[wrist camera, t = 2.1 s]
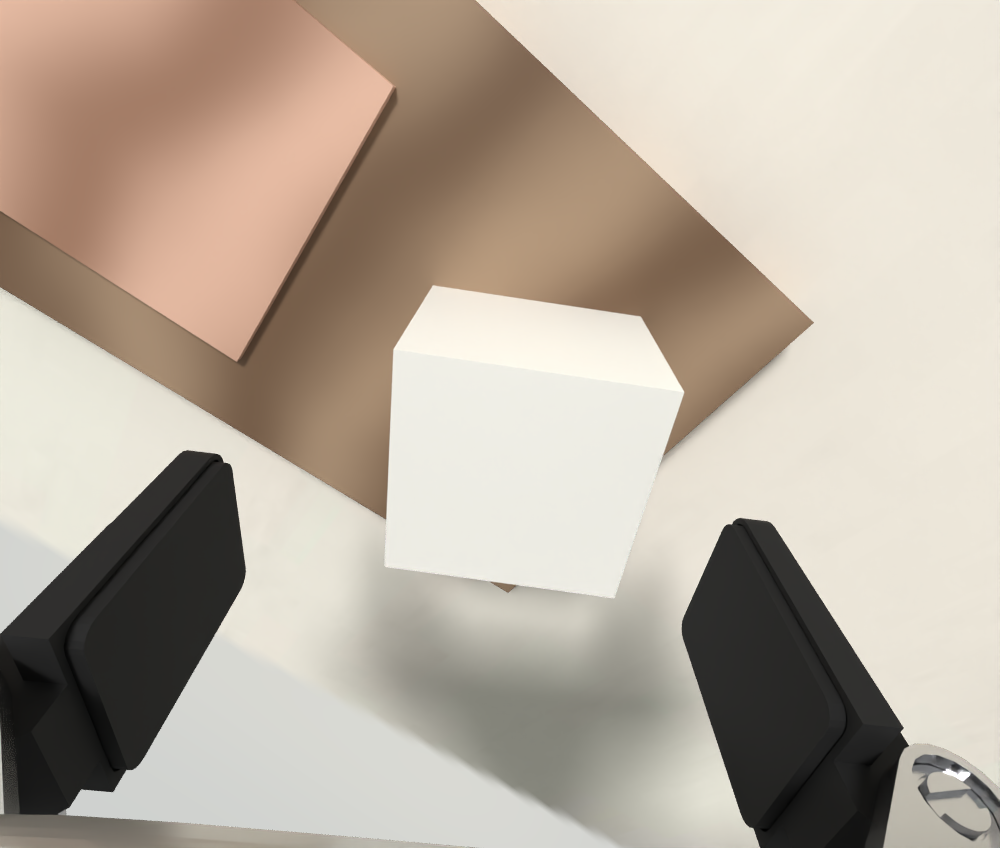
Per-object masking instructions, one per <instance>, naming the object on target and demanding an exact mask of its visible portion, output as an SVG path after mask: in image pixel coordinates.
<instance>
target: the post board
mask: <svg viewBox="0 0 1000 848" xmlns="http://www.w3.org/2000/svg"><path fill="white" fill-rule="evenodd" d="M433 285H434V286H440V287H447V288H454V289H460V290H467V291H474V292H480V293H487V294H494V295H500V296H507V297H514V298H520V299H527V300H534V301H540V302H547V303H554V304H560V305H567V306H574V307H580V308H587V309H594V310H600V311H607V312H614V313H620V314H627V315H634V316H640V317H641V318H642V319H643V321H644V323H645V325H646V326H647V328H648V330H649V332H650V333H651V335H652V337H653V339H654V340H655V342H656V344H657V345H658V347H659V349H660V351H661V352H662V354H663V356H664V358H665V359H666V361H667V363H668V365H669V366H670V368H671V370H672V372H673V373H674V375H675V377H676V378H677V380H678V382H679V384H680V385H681V387H682V389H683V391H684V395H683V398H682V401H681V404H680V407H679V410H678V413H677V416H676V418H675V421H674V424H673V427H672V430H671V433H670V436H669V439H668V442H667V445H666V448H665V451H664V454H663V456H664V455H665V454H666V453H667V452H668V451H669V450H670V449H671V448H673V447H674V446H675V445H676V444H677V443H678V442H679V441H680V440H682V439H683V438H684V437H685V436H686V435H687V434H688V433H690V432H691V431H692V430H693V429H694V428H695V427H696V426H697V425H699V424H700V423H701V422H702V421H703V420H704V419H705V418H707V417H708V416H709V415H710V414H711V413H712V412H713V411H714V410H716V409H717V408H718V407H719V406H720V405H721V404H722V403H724V402H725V401H726V400H727V399H728V398H729V397H730V396H731V395H733V394H734V393H735V392H736V391H737V390H738V389H739V388H740V387H742V386H743V385H744V384H745V383H746V382H747V381H748V380H750V379H751V378H752V377H753V376H754V375H755V374H756V373H757V372H759V371H760V370H761V369H762V368H763V367H764V366H765V365H767V364H768V363H769V362H770V361H771V360H772V359H773V358H774V357H776V356H777V355H778V354H779V353H780V352H781V351H782V350H784V349H785V348H786V347H787V346H788V345H789V344H790V343H791V342H793V341H794V340H795V339H796V338H797V337H798V336H799V335H800V334H802V333H803V332H804V331H805V330H806V329H807V328H808V327H810V326H811V325H812V324H813V323H814V322H813V321H812V320H810V319H809V318H808V317H807V316H806V315H805V314H804V313H803V312H802V311H801V310H800V309H799V308H798V307H797V306H796V305H795V304H794V303H793V302H792V301H791V300H789V299H788V298H787V297H786V296H785V295H784V294H783V293H782V292H781V291H780V290H779V289H778V288H777V287H776V286H775V285H774V284H773V283H772V282H771V281H770V280H768V279H767V278H766V277H765V276H764V275H763V274H762V273H761V272H760V271H759V270H758V269H757V268H756V267H755V266H754V265H753V264H752V263H751V262H750V261H749V260H747V259H746V258H745V257H744V256H743V255H742V254H741V253H740V252H739V251H738V250H737V249H736V248H735V247H734V246H733V245H732V244H731V243H730V242H729V241H728V240H726V239H725V238H724V237H723V236H722V235H721V234H720V233H719V232H718V231H717V230H716V229H715V228H714V227H713V226H712V225H711V224H710V223H709V222H708V221H707V220H705V219H704V218H703V217H702V216H701V215H700V214H699V213H698V212H697V211H696V210H695V209H694V208H693V207H692V206H691V205H690V204H689V203H688V202H687V201H686V200H684V199H683V198H682V197H681V196H680V195H679V194H678V193H677V192H676V191H675V190H674V189H673V188H672V187H671V186H670V185H669V184H668V183H667V182H666V181H665V180H663V179H662V178H661V177H660V176H659V175H658V174H657V173H656V172H655V171H654V170H653V169H652V168H651V167H650V166H649V165H648V164H647V163H646V162H645V161H644V160H642V159H641V158H640V157H639V156H638V155H637V154H636V153H635V152H634V151H633V150H632V149H631V148H630V147H629V146H628V145H627V144H626V143H625V142H624V141H623V140H621V139H620V138H619V137H618V136H617V135H616V134H615V133H614V132H613V131H612V130H611V129H610V128H609V127H608V126H607V125H606V124H605V123H604V122H603V121H602V120H600V119H599V118H598V117H597V116H596V115H595V114H594V113H593V112H592V111H591V110H590V109H589V108H588V107H587V106H586V105H585V104H584V103H583V102H582V101H581V100H579V99H578V98H577V97H576V96H575V95H574V94H573V93H572V92H571V91H570V90H569V89H568V88H567V87H566V86H565V85H564V84H563V83H562V82H561V81H560V80H558V79H557V78H556V77H555V76H554V75H553V74H552V73H551V72H550V71H549V70H548V69H547V68H546V67H545V66H544V65H543V64H542V63H541V62H540V61H539V60H537V59H536V58H535V57H534V56H533V55H532V54H531V53H530V52H529V51H528V50H527V49H526V48H525V47H524V46H523V45H522V44H521V43H520V42H519V41H518V40H516V39H515V38H514V37H513V36H512V35H511V34H510V33H509V32H508V31H507V30H506V29H505V28H504V27H503V26H502V25H501V24H500V23H499V22H498V21H497V20H495V19H494V18H493V17H492V16H491V15H490V14H489V13H488V12H487V11H486V10H485V9H484V8H483V7H482V6H481V5H480V4H479V3H478V2H477V1H476V0H0V287H1V288H3V289H4V290H6V291H8V292H9V293H11V294H13V295H14V296H16V297H18V298H19V299H21V300H23V301H24V302H26V303H28V304H29V305H31V306H33V307H34V308H36V309H38V310H39V311H41V312H43V313H44V314H46V315H48V316H49V317H51V318H53V319H54V320H56V321H58V322H59V323H61V324H63V325H64V326H66V327H68V328H69V329H71V330H72V331H74V332H76V333H77V334H79V335H81V336H82V337H84V338H86V339H87V340H89V341H91V342H92V343H94V344H96V345H97V346H99V347H101V348H102V349H104V350H106V351H107V352H109V353H111V354H112V355H114V356H116V357H117V358H119V359H121V360H122V361H124V362H126V363H127V364H129V365H131V366H132V367H134V368H136V369H137V370H139V371H141V372H142V373H144V374H146V375H147V376H149V377H151V378H152V379H154V380H156V381H157V382H159V383H161V384H162V385H164V386H165V387H167V388H169V389H170V390H172V391H174V392H175V393H177V394H179V395H180V396H182V397H184V398H185V399H187V400H189V401H190V402H192V403H194V404H195V405H197V406H199V407H200V408H202V409H204V410H205V411H207V412H209V413H210V414H212V415H214V416H215V417H217V418H219V419H220V420H222V421H224V422H225V423H227V424H229V425H230V426H232V427H234V428H235V429H237V430H239V431H240V432H242V433H244V434H245V435H247V436H249V437H250V438H252V439H254V440H255V441H257V442H258V443H260V444H262V445H263V446H265V447H267V448H268V449H270V450H272V451H273V452H275V453H277V454H278V455H280V456H282V457H283V458H285V459H287V460H288V461H290V462H292V463H293V464H295V465H297V466H298V467H300V468H302V469H303V470H305V471H307V472H308V473H310V474H312V475H313V476H315V477H317V478H318V479H320V480H322V481H323V482H325V483H327V484H328V485H330V486H332V487H333V488H335V489H337V490H338V491H340V492H342V493H343V494H345V495H347V496H348V497H350V498H351V499H353V500H355V501H356V502H358V503H360V504H361V505H363V506H365V507H366V508H368V509H370V510H371V511H373V512H375V513H376V514H378V515H380V516H381V517H383V518H385V519H386V514H387V490H388V467H389V443H390V419H391V395H392V371H393V349H394V348H395V346H396V344H397V343H398V341H399V340H400V338H401V336H402V335H403V333H404V331H405V330H406V328H407V327H408V325H409V323H410V322H411V320H412V318H413V317H414V315H415V314H416V312H417V310H418V309H419V307H420V305H421V304H422V302H423V301H424V299H425V297H426V296H427V294H428V292H429V291H430V289H431V288H432V286H433ZM489 582H491V581H489ZM491 583H493V584H494V585H496V586H498V587H499V588H501V589H503V590H504V591H506V592H510V591H511V590H512V589H513V588H514V587H515V586H516V585H513V584H506V583H499V582H491Z"/></svg>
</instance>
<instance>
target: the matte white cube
mask: <svg viewBox="0 0 1000 848" xmlns="http://www.w3.org/2000/svg"><path fill="white" fill-rule="evenodd" d="M683 395H684V391H683V389H682V387H681V385H680V384H679V382H678V380H677V378H676V377H675V375H674V373H673V372H672V370H671V368H670V366H669V365H668V363H667V361H666V359H665V358H664V356H663V354H662V352H661V351H660V349H659V347H658V345H657V344H656V342H655V340H654V339H653V337H652V335H651V333H650V332H649V330H648V328H647V326H646V325H645V323H644V321H643V319H642V318H641V317H640V316H634V315H627V314H620V313H614V312H607V311H600V310H594V309H587V308H580V307H574V306H567V305H560V304H554V303H547V302H540V301H534V300H527V299H520V298H514V297H507V296H500V295H494V294H487V293H480V292H474V291H467V290H460V289H454V288H447V287H440V286H434V285H433V286H432V288H431V289H430V291H429V292H428V294H427V296H426V297H425V299H424V301H423V302H422V304H421V305H420V307H419V309H418V310H417V312H416V314H415V315H414V317H413V318H412V320H411V322H410V323H409V325H408V327H407V328H406V330H405V331H404V333H403V335H402V336H401V338H400V340H399V341H398V343H397V344H396V346H395V348H394V349H393V371H392V395H391V419H390V443H389V467H388V490H387V514H386V538H385V562H384V567H390V568H397V569H404V570H412V571H419V572H426V573H433V574H441V575H448V576H455V577H462V578H470V579H477V580H484V581H491V582H499V583H506V584H513V585H520V586H528V587H535V588H542V589H549V590H556V591H564V592H571V593H578V594H585V595H593V596H600V597H607V598H615V595H616V592H617V589H618V586H619V583H620V580H621V577H622V574H623V571H624V568H625V566H626V563H627V560H628V557H629V554H630V551H631V548H632V545H633V542H634V539H635V536H636V533H637V530H638V527H639V524H640V521H641V518H642V516H643V513H644V510H645V507H646V504H647V501H648V498H649V495H650V492H651V489H652V486H653V483H654V480H655V477H656V474H657V471H658V468H659V466H660V463H661V460H662V457H663V454H664V451H665V448H666V445H667V442H668V439H669V436H670V433H671V430H672V427H673V424H674V421H675V418H676V416H677V413H678V410H679V407H680V404H681V401H682V398H683Z"/></svg>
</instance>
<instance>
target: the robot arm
mask: <svg viewBox="0 0 1000 848" xmlns="http://www.w3.org/2000/svg"><path fill="white" fill-rule="evenodd" d="M245 573H246V568H245V560H244V553H243V546H242V538H241V531H240V523H239V516H238V509H237V501H236V494H235V486H234V479H233V472H232V467H231V465H230V464H228V463H224V462H223V459H222V457H221V456H220V455H218V454H213V453H205V452H197V451H188V450H187V451H183V452H182V453H180V454H179V455H178V456H177V457H176V458H175V459H174V460H173V461H172V462H171V463H170V464H169V465H168V466H167V467H166V468H165V469H164V470H163V471H162V472H161V473H160V474H159V475H158V476H157V477H156V478H155V479H154V480H153V481H152V482H151V483H150V484H149V485H148V486H147V487H146V488H145V490H144V491H143V492H142V493H141V494H140V495H139V496H138V497H137V498H136V499H135V500H134V501H133V502H132V503H131V504H130V505H129V506H128V507H127V508H126V509H125V510H124V511H123V512H122V513H121V514H120V515H119V516H118V517H117V518H116V519H115V520H114V521H113V522H112V523H110V524H109V525H108V526H107V527H106V528H105V529H104V530H103V531H102V532H101V533H100V534H99V535H98V536H97V537H96V538H95V539H94V540H93V541H92V542H91V543H90V544H89V545H88V546H87V547H86V548H85V549H84V550H83V551H82V552H81V553H80V554H79V555H78V556H77V557H76V558H75V559H74V560H73V561H72V562H71V563H70V564H69V565H68V566H67V567H66V568H65V569H64V571H62V573H60V574H59V575H58V576H57V577H56V578H55V579H54V580H53V581H52V582H51V583H50V584H49V585H48V586H47V587H46V588H45V589H44V590H43V591H42V593H41V594H39V595H38V596H37V597H36V599H34V601H33V602H31V603H30V605H28V606H27V608H26V609H25V610H24V611H23V612H22V613H21V614H20V615H19V616H18V617H17V618H16V619H15V620H14V621H13V622H12V623H11V624H10V625H9V626H8V627H7V628H6V629H5V630H4V631H3V632H2V633H1V634H0V848H473V847H462V846H450V845H439V844H427V843H415V842H404V841H393V840H381V839H371V838H359V837H346V836H335V835H323V834H311V833H298V832H287V831H275V830H274V831H273V830H262V829H251V828H238V827H226V826H215V825H203V824H191V823H178V822H162V821H147V820H131V819H115V818H99V817H84V816H67V815H66V809H67V808H69V807H70V806H71V804H72V802H73V801H74V800H75V798H76V796H77V795H78V793H79V792H80V790H81V789H83V790H94V791H106V792H113V791H114V790H115V788H116V786H117V785H118V783H119V781H120V780H121V778H122V776H123V774H124V773H125V771H126V770H133V769H134V768H136V767H137V766H138V765H139V764H140V763H141V761H142V760H143V758H144V757H145V755H146V753H147V751H148V749H149V748H150V746H151V745H152V743H153V741H154V739H155V737H156V736H157V734H158V732H159V731H160V729H161V727H162V725H163V724H164V722H165V720H166V718H167V717H168V715H169V713H170V711H171V710H172V708H173V706H174V705H175V703H176V701H177V699H178V698H179V696H180V694H181V692H182V691H183V689H184V687H185V685H186V684H187V682H188V680H189V679H190V677H191V675H192V673H193V671H194V670H195V668H196V666H197V665H198V663H199V661H200V659H201V658H202V656H203V654H204V652H205V651H206V649H207V647H208V645H209V644H210V642H211V640H212V639H213V637H214V635H215V633H216V632H217V630H218V628H219V626H220V625H221V623H222V621H223V620H224V618H225V616H226V614H227V613H228V611H229V609H230V607H231V606H232V604H233V602H234V600H235V599H236V597H237V595H238V593H239V592H240V590H241V588H242V586H243V583H244V579H245ZM682 636H683V640H684V643H685V646H686V649H687V652H688V655H689V658H690V661H691V664H692V667H693V670H694V673H695V676H696V679H697V682H698V685H699V688H700V691H701V694H702V697H703V700H704V704H705V707H706V710H707V713H708V716H709V719H710V722H711V725H712V728H713V731H714V734H715V737H716V740H717V743H718V746H719V749H720V752H721V755H722V758H723V761H724V764H725V767H726V770H727V773H728V777H729V780H730V783H731V786H732V789H733V792H734V795H735V798H736V801H737V804H738V807H739V810H740V813H741V815H742V818H743V820H744V822H745V823H746V825H748V826H749V827H751V828H754V831H755V834H756V837H757V840H758V843H759V846H760V848H1000V788H999V787H998V786H997V785H995V784H994V783H993V782H992V781H991V780H990V779H989V778H988V777H987V776H986V775H985V774H984V773H983V772H982V771H980V770H979V769H977V768H976V767H975V766H973V765H972V764H970V763H969V762H968V761H966V760H965V759H963V758H962V757H960V756H958V755H956V754H954V753H952V752H950V751H948V750H946V749H944V748H940V747H937V746H934V745H930V744H913V745H911V746H909V745H908V744H907V742H906V740H905V739H904V737H903V736H902V734H901V731H902V730H903V726H902V725H901V723H900V722H899V720H898V718H897V717H896V715H895V714H894V712H893V711H892V709H891V708H890V706H889V704H888V703H887V701H886V700H885V698H884V697H883V695H882V693H881V692H880V690H879V689H878V687H877V686H876V684H875V683H874V681H873V679H872V678H871V676H870V675H869V673H868V672H867V670H866V669H865V667H864V665H863V664H862V662H861V661H860V659H859V658H858V656H857V655H856V653H855V651H854V650H853V648H852V647H851V645H850V644H849V642H848V641H847V639H846V637H845V636H844V634H843V633H842V631H841V630H840V628H839V627H838V625H837V623H836V622H835V620H834V619H833V617H832V616H831V614H830V613H829V611H828V609H827V608H826V606H825V605H824V603H823V602H822V600H821V599H820V597H819V595H818V594H817V592H816V591H815V589H814V588H813V586H812V585H811V583H810V581H809V580H808V578H807V577H806V575H805V574H804V572H803V570H802V569H801V567H800V566H799V564H798V563H797V561H796V560H795V558H794V556H793V555H792V553H791V552H790V550H789V549H788V547H787V546H786V544H785V542H784V541H783V539H782V538H781V536H780V535H779V533H778V532H777V530H776V528H775V527H774V526H773V525H772V524H771V523H770V522H767V521H760V520H752V519H743V518H739V519H736V520H735V521H734V522H733V524H732V525H730V524H729V525H726V526H725V527H724V528H723V530H722V532H721V535H720V537H719V539H718V541H717V544H716V546H715V548H714V550H713V552H712V555H711V557H710V559H709V561H708V564H707V566H706V568H705V570H704V573H703V575H702V577H701V579H700V582H699V584H698V586H697V588H696V591H695V593H694V595H693V597H692V600H691V602H690V604H689V606H688V609H687V611H686V613H685V615H684V618H683V621H682Z"/></svg>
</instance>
